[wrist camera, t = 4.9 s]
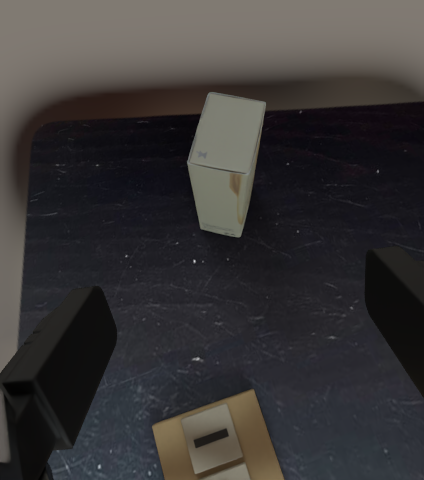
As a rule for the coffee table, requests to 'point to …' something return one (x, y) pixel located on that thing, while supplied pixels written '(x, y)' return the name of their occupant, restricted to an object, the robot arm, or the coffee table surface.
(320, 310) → the coffee table surface
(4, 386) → the robot arm
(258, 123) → the cosmetic box
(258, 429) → the word board
